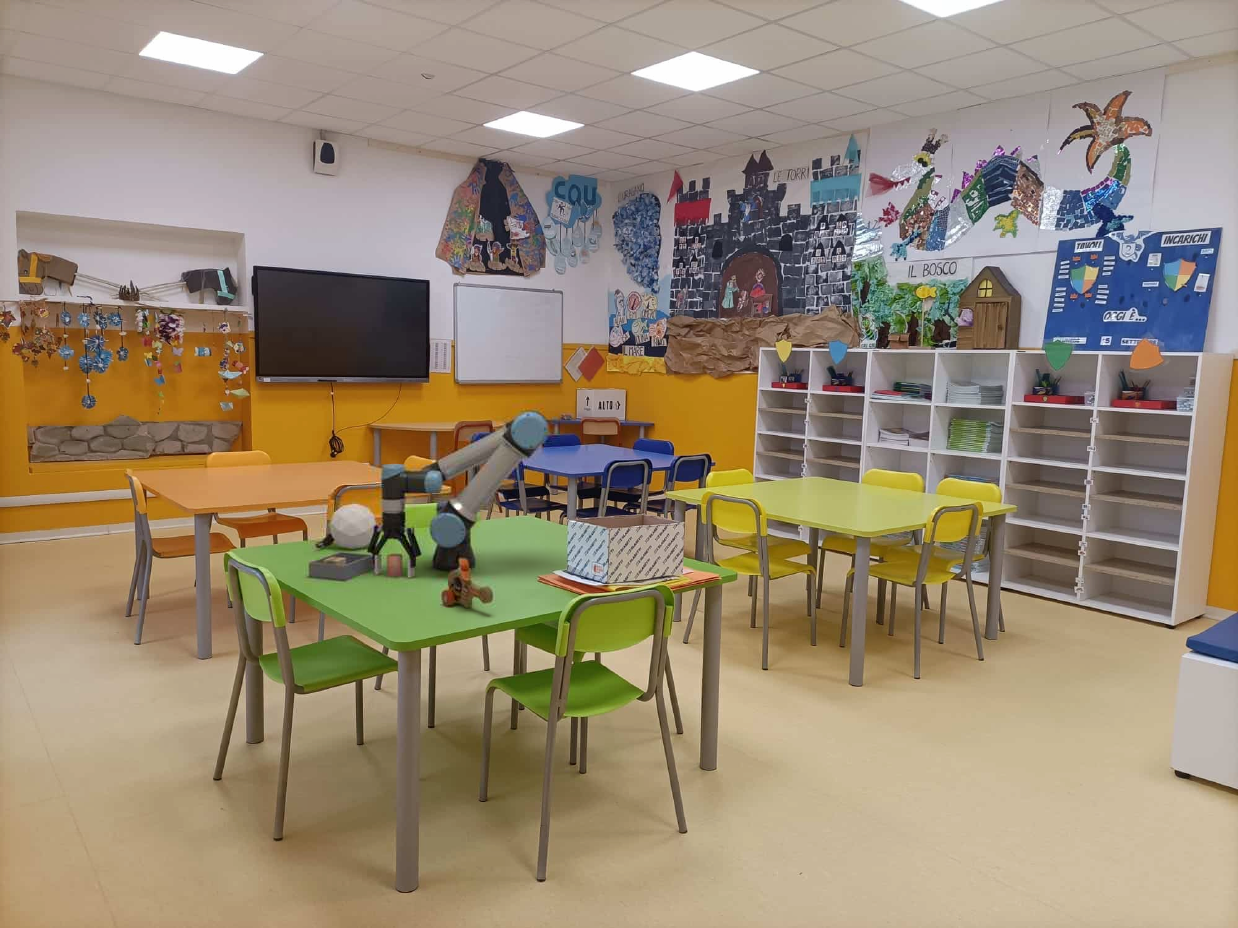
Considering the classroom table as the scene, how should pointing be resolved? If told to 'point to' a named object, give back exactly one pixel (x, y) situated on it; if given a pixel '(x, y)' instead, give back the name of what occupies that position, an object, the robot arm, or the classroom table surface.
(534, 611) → the classroom table surface
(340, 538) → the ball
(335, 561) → the wooden cube
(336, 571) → the tote
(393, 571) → the red cylinder
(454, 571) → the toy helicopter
